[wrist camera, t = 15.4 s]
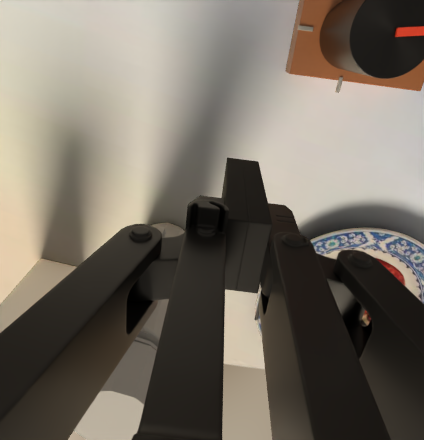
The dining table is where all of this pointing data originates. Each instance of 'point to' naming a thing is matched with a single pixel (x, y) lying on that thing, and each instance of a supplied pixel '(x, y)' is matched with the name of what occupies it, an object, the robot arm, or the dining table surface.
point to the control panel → (314, 60)
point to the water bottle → (128, 378)
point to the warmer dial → (374, 37)
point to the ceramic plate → (377, 255)
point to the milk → (32, 289)
